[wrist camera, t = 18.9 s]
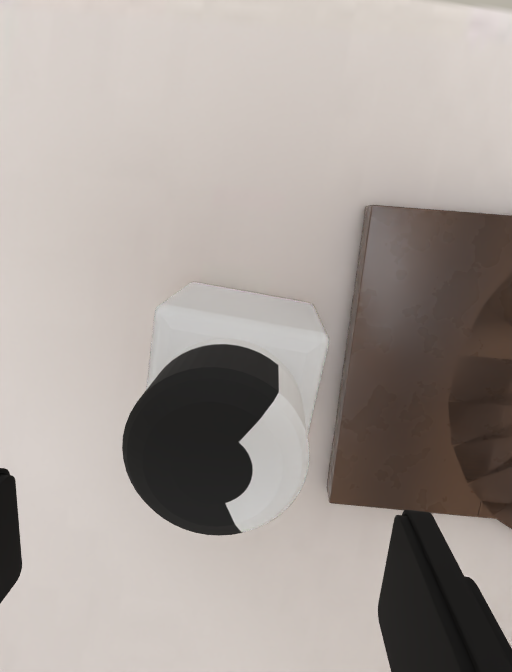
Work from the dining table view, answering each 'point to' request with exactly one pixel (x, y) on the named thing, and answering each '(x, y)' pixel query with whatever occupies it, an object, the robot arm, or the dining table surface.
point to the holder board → (428, 367)
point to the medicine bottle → (226, 408)
